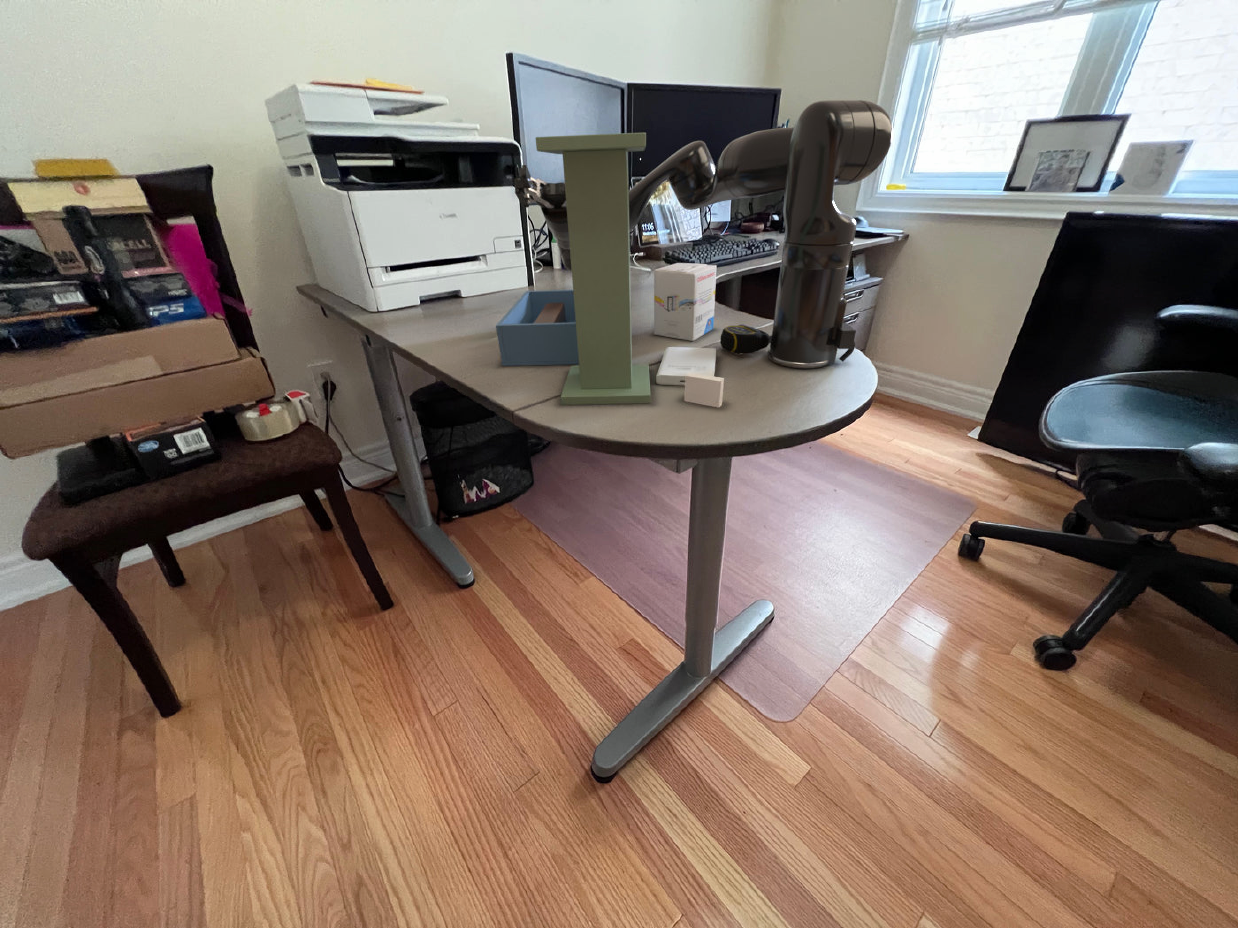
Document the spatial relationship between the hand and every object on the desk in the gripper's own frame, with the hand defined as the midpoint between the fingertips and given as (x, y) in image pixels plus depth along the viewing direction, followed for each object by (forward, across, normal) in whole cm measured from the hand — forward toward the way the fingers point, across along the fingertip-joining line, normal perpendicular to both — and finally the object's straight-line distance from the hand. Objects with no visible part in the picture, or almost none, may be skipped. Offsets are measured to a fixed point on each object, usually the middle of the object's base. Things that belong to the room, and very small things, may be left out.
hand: (548, 169), depth 83 cm
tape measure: (0, +32, +32) cm, 45 cm away
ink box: (-9, +24, +26) cm, 36 cm away
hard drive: (+8, +22, +36) cm, 43 cm away
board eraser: (-6, -1, +27) cm, 28 cm away
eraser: (+19, +23, +42) cm, 51 cm away
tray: (-6, 0, +28) cm, 29 cm away
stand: (+13, +10, +39) cm, 42 cm away
